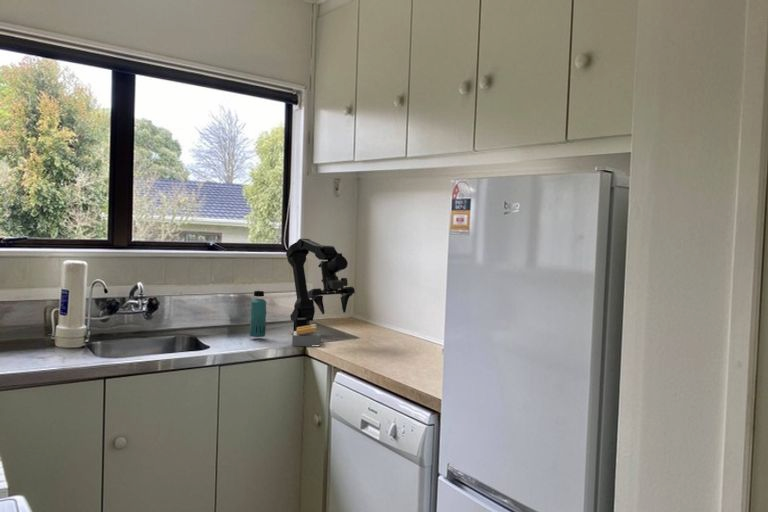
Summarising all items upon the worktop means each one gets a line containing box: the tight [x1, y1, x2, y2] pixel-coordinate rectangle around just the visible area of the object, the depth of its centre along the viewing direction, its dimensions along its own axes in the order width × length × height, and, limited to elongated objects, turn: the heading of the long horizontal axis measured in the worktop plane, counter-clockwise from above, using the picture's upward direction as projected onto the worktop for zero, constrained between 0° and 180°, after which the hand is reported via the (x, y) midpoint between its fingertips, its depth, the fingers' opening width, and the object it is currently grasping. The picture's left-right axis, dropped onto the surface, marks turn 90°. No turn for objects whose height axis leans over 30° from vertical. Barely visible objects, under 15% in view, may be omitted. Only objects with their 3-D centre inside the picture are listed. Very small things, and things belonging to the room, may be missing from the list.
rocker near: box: [296, 325, 318, 335], centre depth 230 cm, size 8×4×2 cm, turn 97°
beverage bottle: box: [249, 290, 267, 338], centre depth 236 cm, size 6×7×20 cm
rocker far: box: [297, 323, 318, 330], centre depth 235 cm, size 8×4×2 cm, turn 97°
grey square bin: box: [291, 331, 322, 347], centre depth 233 cm, size 11×11×5 cm
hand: (334, 313), depth 231 cm, fingers open, 9 cm apart
